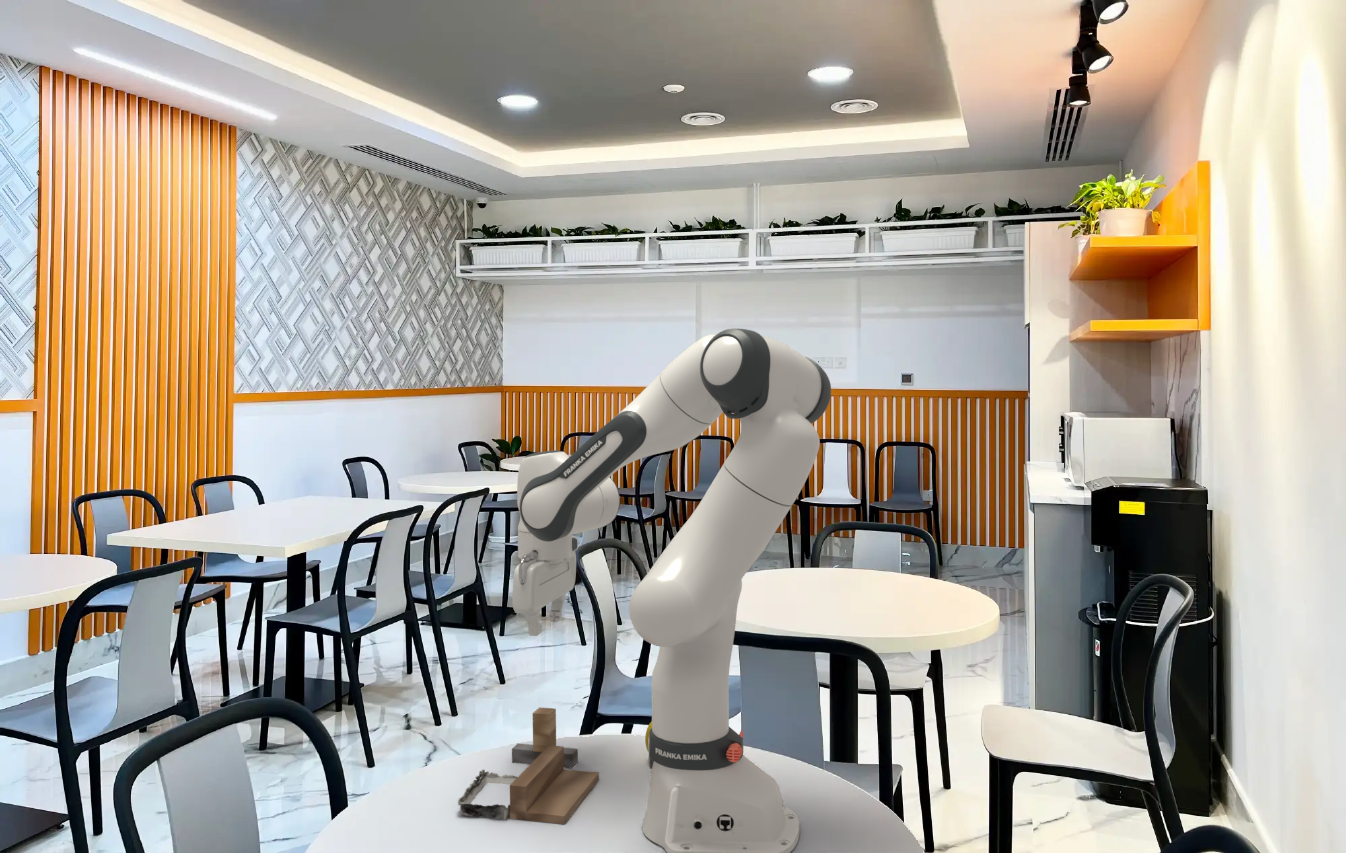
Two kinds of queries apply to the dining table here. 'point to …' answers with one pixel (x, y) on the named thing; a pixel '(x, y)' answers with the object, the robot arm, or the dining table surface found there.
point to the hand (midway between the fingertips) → (545, 627)
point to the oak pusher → (543, 740)
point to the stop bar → (549, 789)
